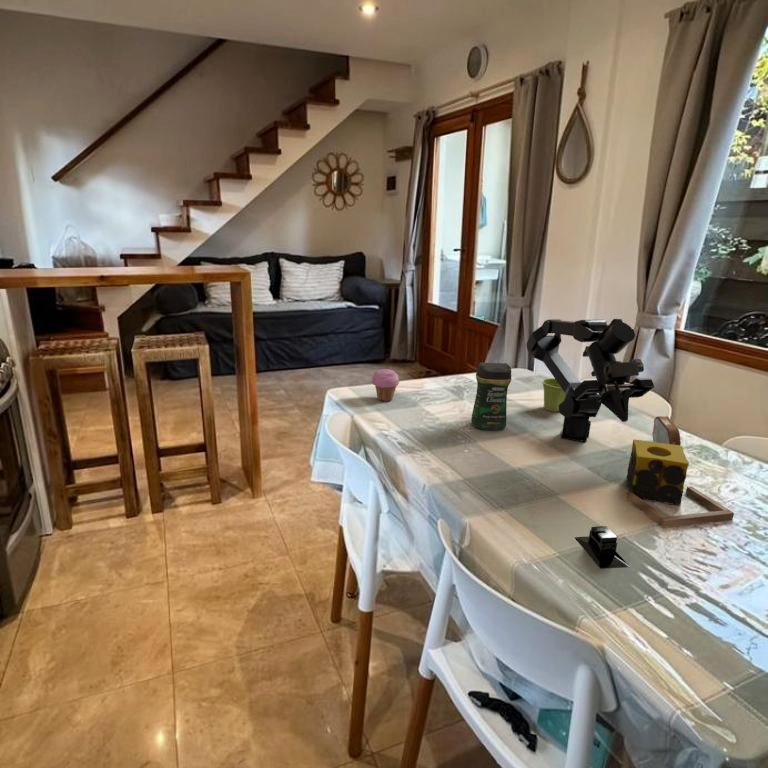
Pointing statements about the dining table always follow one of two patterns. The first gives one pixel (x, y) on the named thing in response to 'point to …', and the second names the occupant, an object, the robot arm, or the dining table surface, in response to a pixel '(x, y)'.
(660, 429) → the tin
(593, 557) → the black block on plate
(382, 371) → the cupcake
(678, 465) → the yellow holed cube
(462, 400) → the dining table surface
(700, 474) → the dining table surface
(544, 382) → the plant pot
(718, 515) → the brown flat tray
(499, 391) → the coffee jar
